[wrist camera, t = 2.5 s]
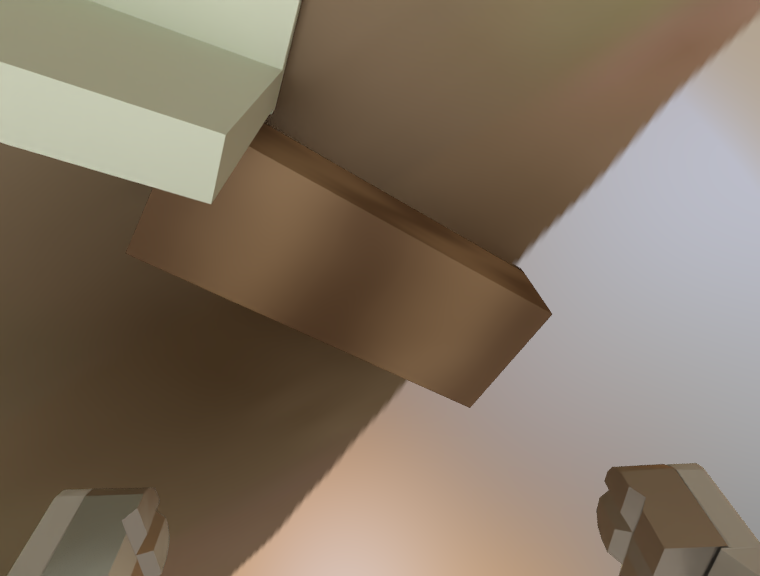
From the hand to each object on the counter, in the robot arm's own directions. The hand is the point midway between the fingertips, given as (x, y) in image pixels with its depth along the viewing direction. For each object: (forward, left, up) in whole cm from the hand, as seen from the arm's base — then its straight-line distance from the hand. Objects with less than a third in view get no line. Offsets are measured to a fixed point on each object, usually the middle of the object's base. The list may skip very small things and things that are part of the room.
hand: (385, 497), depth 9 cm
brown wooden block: (-1, 0, -12) cm, 12 cm away
